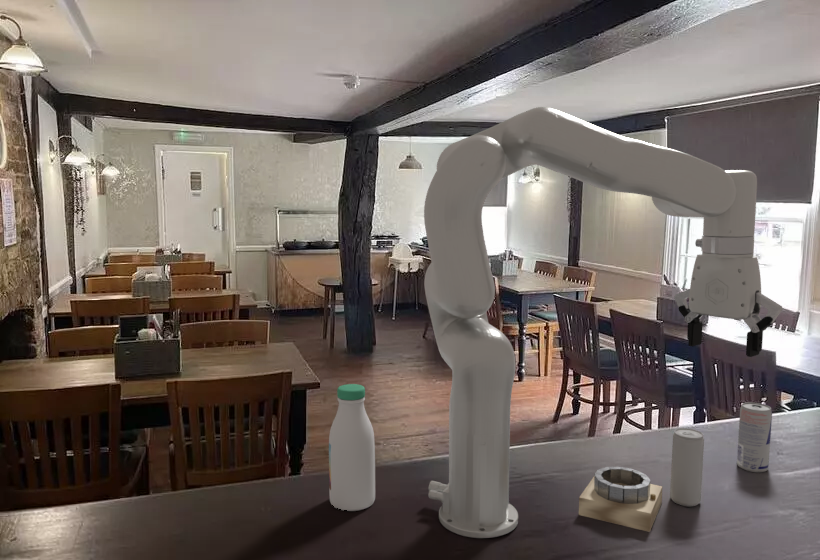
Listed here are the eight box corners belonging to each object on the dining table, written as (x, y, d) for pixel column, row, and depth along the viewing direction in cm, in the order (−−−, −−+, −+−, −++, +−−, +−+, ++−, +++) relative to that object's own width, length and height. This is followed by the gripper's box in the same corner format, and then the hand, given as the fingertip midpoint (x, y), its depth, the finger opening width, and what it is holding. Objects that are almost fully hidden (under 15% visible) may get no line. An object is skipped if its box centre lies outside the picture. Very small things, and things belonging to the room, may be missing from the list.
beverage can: (703, 508, 107) (707, 439, 106) (672, 506, 108) (676, 437, 107) (696, 496, 112) (700, 429, 110) (667, 493, 113) (670, 427, 111)
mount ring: (589, 496, 105) (589, 481, 105) (601, 476, 113) (602, 463, 112) (643, 508, 101) (644, 493, 101) (653, 487, 108) (654, 473, 108)
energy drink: (769, 465, 125) (773, 405, 123) (767, 475, 120) (771, 412, 119) (738, 459, 128) (741, 400, 126) (735, 468, 123) (738, 407, 122)
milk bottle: (384, 501, 110) (384, 386, 108) (350, 517, 105) (349, 396, 102) (354, 487, 115) (352, 378, 113) (320, 502, 110) (318, 387, 107)
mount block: (578, 514, 105) (579, 493, 105) (595, 489, 115) (596, 469, 114) (649, 532, 100) (650, 509, 99) (661, 503, 109) (662, 482, 109)
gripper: (666, 245, 110) (662, 344, 112) (773, 251, 96) (766, 363, 99) (689, 243, 115) (685, 338, 117) (794, 248, 101) (788, 356, 103)
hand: (722, 350), depth 108 cm, fingers open, 9 cm apart
